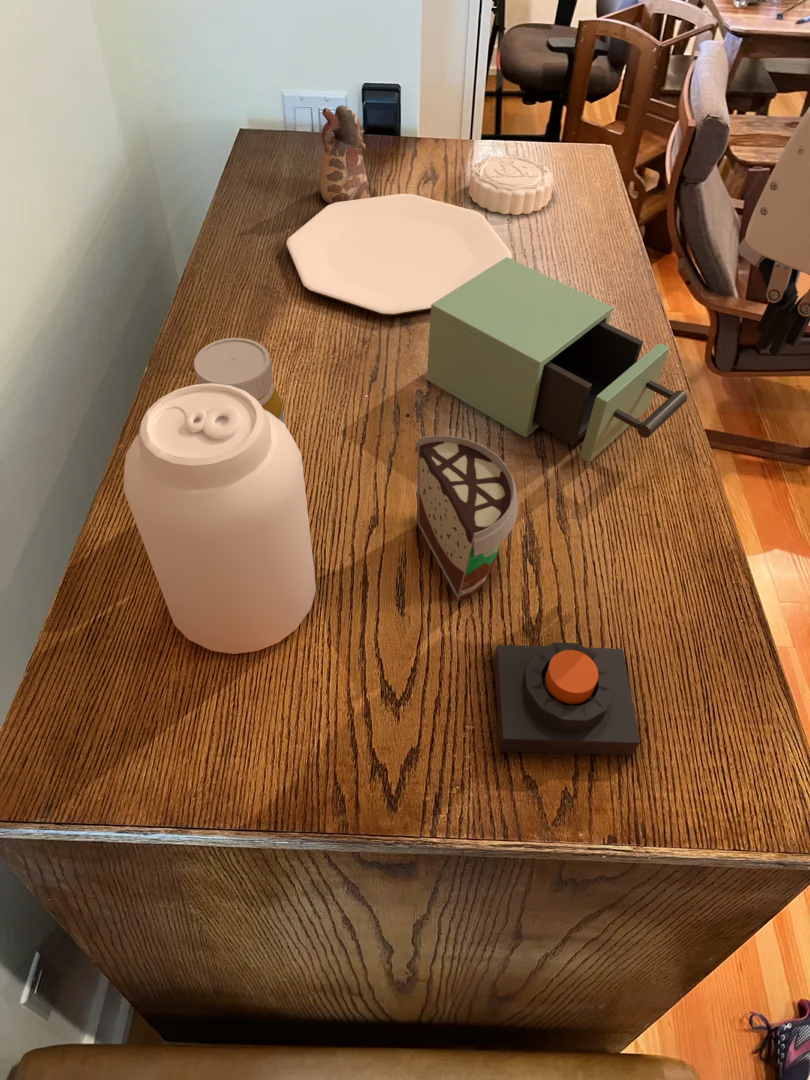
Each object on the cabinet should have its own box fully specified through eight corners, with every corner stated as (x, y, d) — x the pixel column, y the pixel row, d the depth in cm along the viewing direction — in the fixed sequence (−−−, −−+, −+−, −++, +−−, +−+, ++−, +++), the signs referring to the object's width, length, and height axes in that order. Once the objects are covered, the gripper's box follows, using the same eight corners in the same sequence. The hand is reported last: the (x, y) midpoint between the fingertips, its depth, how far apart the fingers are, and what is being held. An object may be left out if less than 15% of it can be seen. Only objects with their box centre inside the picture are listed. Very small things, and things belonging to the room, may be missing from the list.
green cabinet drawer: (683, 426, 80) (707, 365, 74) (624, 483, 74) (646, 423, 68) (552, 357, 87) (565, 296, 81) (489, 405, 81) (498, 343, 75)
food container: (530, 593, 67) (549, 517, 59) (465, 614, 65) (477, 539, 57) (470, 495, 74) (481, 417, 66) (411, 512, 72) (415, 433, 65)
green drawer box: (593, 382, 85) (613, 306, 78) (525, 438, 79) (540, 362, 72) (496, 331, 91) (506, 256, 84) (426, 379, 85) (430, 304, 77)
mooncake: (542, 175, 116) (545, 151, 114) (557, 215, 109) (562, 190, 106) (463, 176, 116) (465, 152, 113) (474, 216, 108) (476, 191, 105)
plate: (534, 237, 105) (536, 226, 104) (448, 344, 89) (449, 333, 88) (358, 189, 112) (358, 178, 111) (250, 280, 97) (249, 269, 95)
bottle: (211, 471, 75) (180, 343, 64) (281, 454, 77) (263, 327, 65) (227, 522, 71) (197, 395, 59) (300, 503, 73) (285, 377, 61)
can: (321, 540, 70) (305, 360, 55) (311, 659, 62) (288, 489, 47) (183, 538, 70) (127, 357, 54) (155, 657, 62) (80, 486, 46)
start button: (589, 662, 58) (594, 650, 57) (596, 705, 56) (601, 693, 55) (542, 660, 58) (546, 648, 57) (547, 703, 56) (551, 692, 55)
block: (616, 662, 62) (628, 636, 59) (632, 756, 57) (647, 732, 54) (493, 658, 62) (499, 632, 59) (499, 751, 57) (505, 727, 54)
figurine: (373, 204, 110) (373, 115, 100) (324, 209, 108) (319, 119, 99) (364, 181, 114) (362, 94, 105) (316, 185, 113) (310, 97, 103)
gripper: (1036, 118, 47) (883, 364, 61) (800, 52, 53) (711, 289, 67) (999, 158, 43) (846, 410, 57) (750, 82, 49) (668, 326, 63)
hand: (773, 344), depth 62 cm, fingers closed
